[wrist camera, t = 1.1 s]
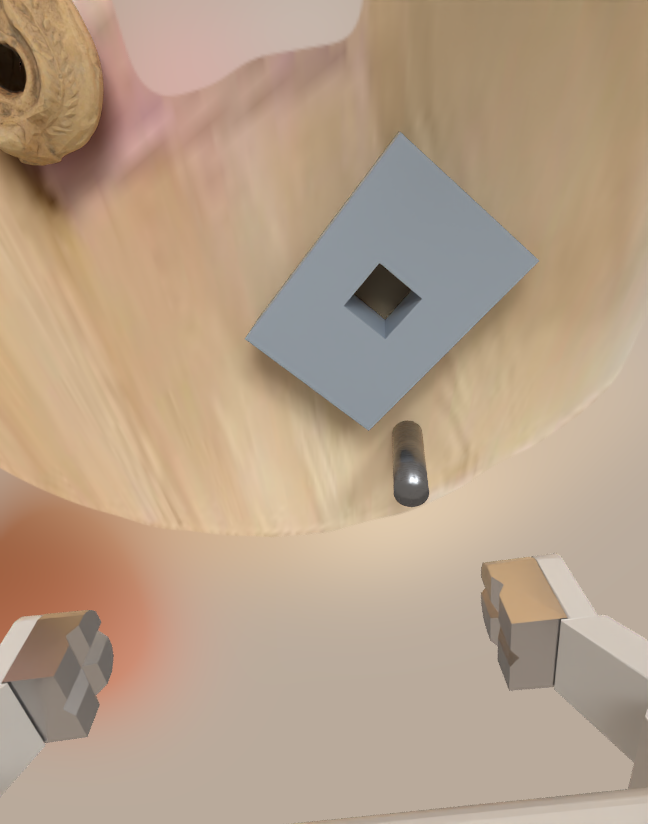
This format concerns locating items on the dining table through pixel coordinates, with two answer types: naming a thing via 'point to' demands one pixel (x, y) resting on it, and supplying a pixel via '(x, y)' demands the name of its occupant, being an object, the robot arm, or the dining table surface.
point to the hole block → (412, 264)
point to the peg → (409, 465)
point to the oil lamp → (47, 80)
